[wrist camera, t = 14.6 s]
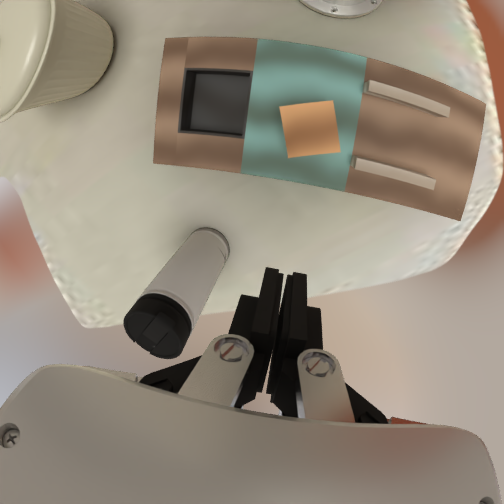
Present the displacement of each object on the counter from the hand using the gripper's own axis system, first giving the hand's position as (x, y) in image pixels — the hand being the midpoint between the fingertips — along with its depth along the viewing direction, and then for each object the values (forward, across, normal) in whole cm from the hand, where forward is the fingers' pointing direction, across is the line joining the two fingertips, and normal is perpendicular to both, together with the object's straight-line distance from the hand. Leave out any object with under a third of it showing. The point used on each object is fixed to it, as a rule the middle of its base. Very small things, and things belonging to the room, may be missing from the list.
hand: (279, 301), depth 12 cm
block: (+23, -1, -6) cm, 24 cm away
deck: (+27, -2, -8) cm, 28 cm away
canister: (+27, +33, -16) cm, 46 cm away
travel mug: (+27, +10, +12) cm, 31 cm away
